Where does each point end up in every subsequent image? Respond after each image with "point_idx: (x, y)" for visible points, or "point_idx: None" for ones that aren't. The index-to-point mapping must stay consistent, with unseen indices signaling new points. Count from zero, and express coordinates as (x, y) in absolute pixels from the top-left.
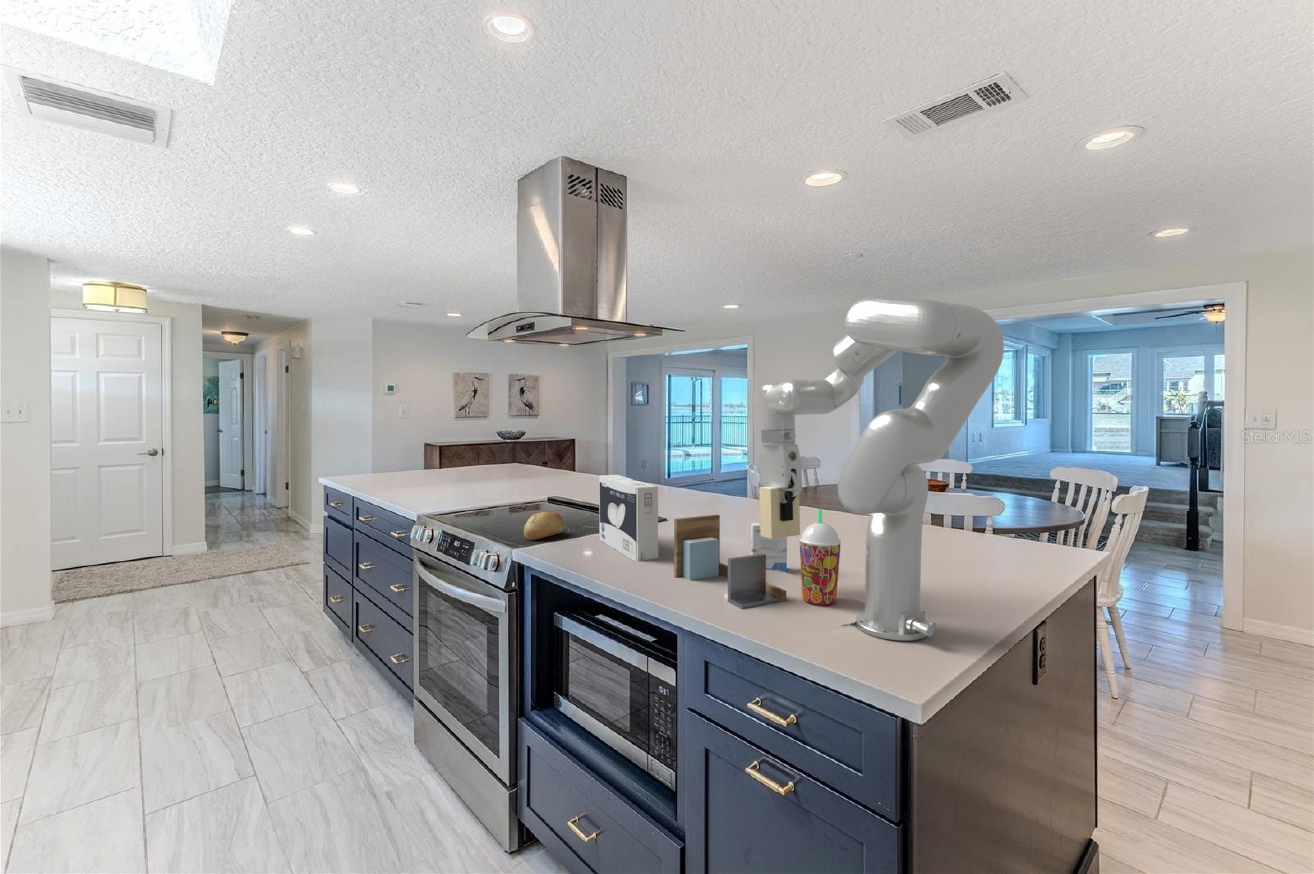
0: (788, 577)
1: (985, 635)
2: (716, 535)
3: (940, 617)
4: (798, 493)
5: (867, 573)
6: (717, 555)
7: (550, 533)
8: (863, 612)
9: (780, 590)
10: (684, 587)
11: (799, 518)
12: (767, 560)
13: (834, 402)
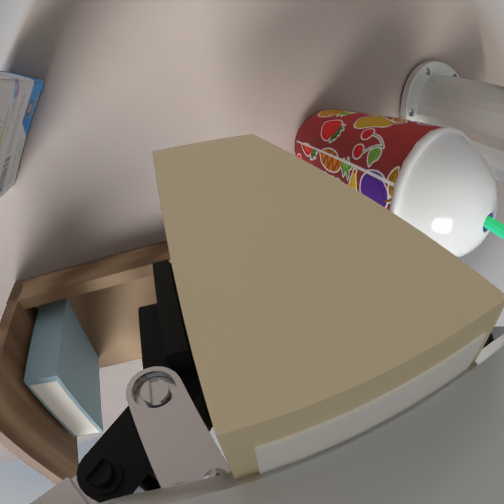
0: (87, 93)
1: (474, 31)
2: (6, 368)
3: (431, 8)
4: (501, 330)
5: (495, 177)
6: (62, 341)
7: None
8: (407, 119)
9: None
10: (120, 364)
11: (293, 156)
12: (12, 149)
13: None
